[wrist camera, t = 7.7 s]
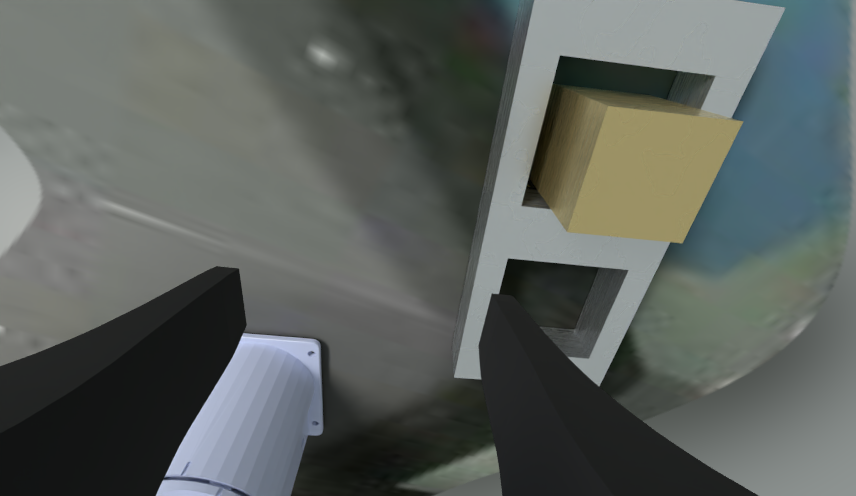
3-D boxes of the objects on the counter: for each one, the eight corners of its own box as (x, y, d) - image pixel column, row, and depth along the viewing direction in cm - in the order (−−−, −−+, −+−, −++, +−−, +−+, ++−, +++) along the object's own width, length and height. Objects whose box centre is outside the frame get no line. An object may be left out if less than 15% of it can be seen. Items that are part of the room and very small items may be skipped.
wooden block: (614, 187, 20) (682, 243, 14) (529, 178, 19) (566, 232, 14) (648, 94, 17) (743, 121, 12) (552, 83, 17) (608, 106, 12)
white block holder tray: (583, 358, 26) (598, 388, 23) (451, 347, 25) (453, 377, 23) (735, 10, 16) (785, 7, 14) (523, -20, 15) (540, -28, 13)
